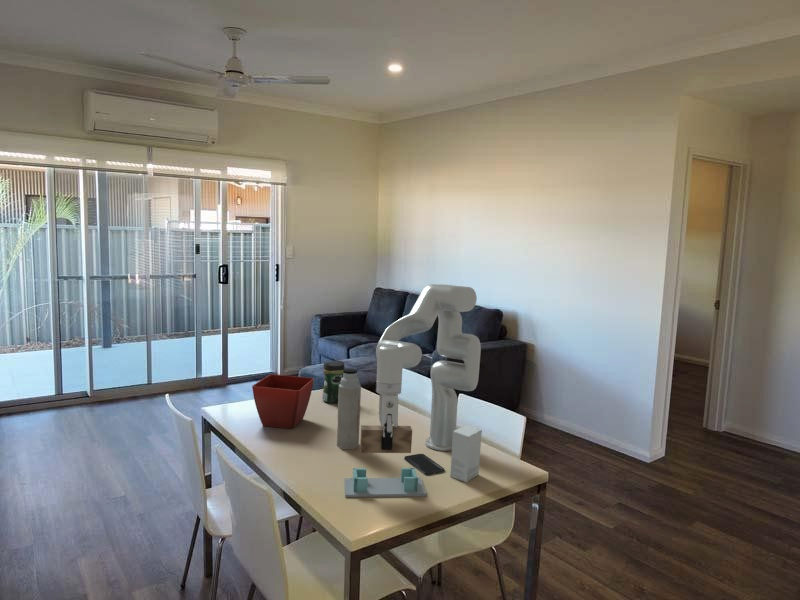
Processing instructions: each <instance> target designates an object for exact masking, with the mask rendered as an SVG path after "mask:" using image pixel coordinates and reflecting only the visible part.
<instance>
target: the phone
mask: <svg viewBox="0 0 800 600" xmlns="http://www.w3.org/2000/svg"><path fill="white" fill-rule="evenodd" d="M404 461H406V462H407V463H408V464H409V465H410V466H412V468H414V469H415V470H417V471H419V472H420V473H421V474H423V475H424V476H431V475H436V474H437V475H438V474H443V473H445V468H444V467H443V466H442V465H440V464H438V463H437V462H436V461H434V459H432V458H430V457H428V456H427V455H426V454H425V453H416V454H410V455H405V456H404Z"/></svg>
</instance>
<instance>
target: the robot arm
mask: <svg viewBox="0 0 800 600" xmlns="http://www.w3.org/2000/svg"><path fill="white" fill-rule="evenodd" d="M477 299H478V298H477V292H476V290H475V289H474V288H473V287H471V286H463V285H452V284H442V283H441V284H435V283H434V284H432V283H431V284H427V285H426V286H424V288H423V289H422V290H421V292H420V294H419V295H418V297H417V299H416V302H414V304H413V307H412V308H411V310H410V312H409V313H408V314H406V315H404V316H403V317H400V318H399V319H398V320H396V321H394V322H392V323H391V324H390V325H388V326H387V328H385V330H384V331H383V333H382V335H381V337H380V339H379V340H378V343H377V344H376V345H377V346H376V349H375V356H376V359H377V362H376V363H377V364H376V384H375V392H376V393H377V394H378V395H379V398H378V399H379V401H378V418H379V422H380V423H379V424H380V426H382V427H383V436H382V441H381V449H382V450H392V440H393V436H392V429H393V426H394V427H395V428H397V427H398V426H399V395H400V394H401V393H402V384H403V383H402V381H403V369H411V368H415V367H416V366H417V365H419V363H420V362H422V361H421V360H422V358H423V352H422V349H421V347H420V346H419V345H417V344H416V343H413V342H406V341H400V340H402V339H403V338H406V337H410V336H413V335H416V334H421V333H425V332H428V331H429V330H430V329H432V327H434V326H433V325H434V323H435V321H436V319H437V318H438V328H437V336H436V337H437V339H436V351H437V354H438V355H439V356H440V357H444V358H448V359H453V360H454V359H455V360H461V361H463V362H464V363H461V362H457V361H450V360H438V361H435V362H433V364H432V365H431V368H430V380H431V409H430V424H429V425H430V427H429V428H430V430H429V437H427V438H426V439H425V446H427V448H429V449H433V450H436V451H442V452H443V451H445V452H446V451H447V452H448V451H452V441H453V431H455V430H457V422H458V421H457V420H458V419H457V418H458V406H459V405H458V404H459V400H458V395H457V393H456V390H458V391H464V392H473V391H474V390H476V388H477V386H478V383H479V375H480V363H481V353H482V352H481V351H482V349H481V347H482V346H481V342H480V338H479V337H478V336H476V335H474V334H470V333H465V332H464V333H463V330H462V329H463V328H462V327H463V318H462V317H463V316H462V315H461V313H464V312H470V311H472V310H473V309H474V307H475V306H476V304H477ZM385 429H387V430H385Z"/></svg>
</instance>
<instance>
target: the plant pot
mask: <svg viewBox="0 0 800 600" xmlns="http://www.w3.org/2000/svg"><path fill="white" fill-rule="evenodd" d="M314 380H315V379H314V378H313V377H306V376H297V375H296V376H295V375H294V376H293V375H284V374H283V375H282V374H275V373H274V374H273V373H272V374H268V375H267V376H266V377H263V378H262V379H260V380H259V381H257V382H256V383H255V384H253V385H251V388H252V395H253V400H254V403H255V407H256V411H257V414H258V417H259V420H260V423H261V425H262V426H263V427H270V428H281V429H289V430H292V429H294V428H295V427H297V426H298V424H300V422H301V421H303V419H304V417H305V415H306V412H307V408H308V406H309V403H310V399H311V397H312V396H311V395H312V390H313V386H314Z"/></svg>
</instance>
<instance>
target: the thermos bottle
mask: <svg viewBox="0 0 800 600" xmlns="http://www.w3.org/2000/svg"><path fill="white" fill-rule="evenodd" d="M343 372H344V374H343V378H341V381H340V382H341V384H339V393H338V402H337V429H336V431H337V432H336V446H337V448H339V449H344V450H353V449H357V448H359V447H360V446H359V445H360V444H359V443H360V422H361V421H360V419H361V399H362V398H361V397H362V395H361V394H362V393H361V392H362V385H361V384H360V379H359V378H360V377H358V373H357V372H358V370H357V369H355V368H345V369H344V370H343Z"/></svg>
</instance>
